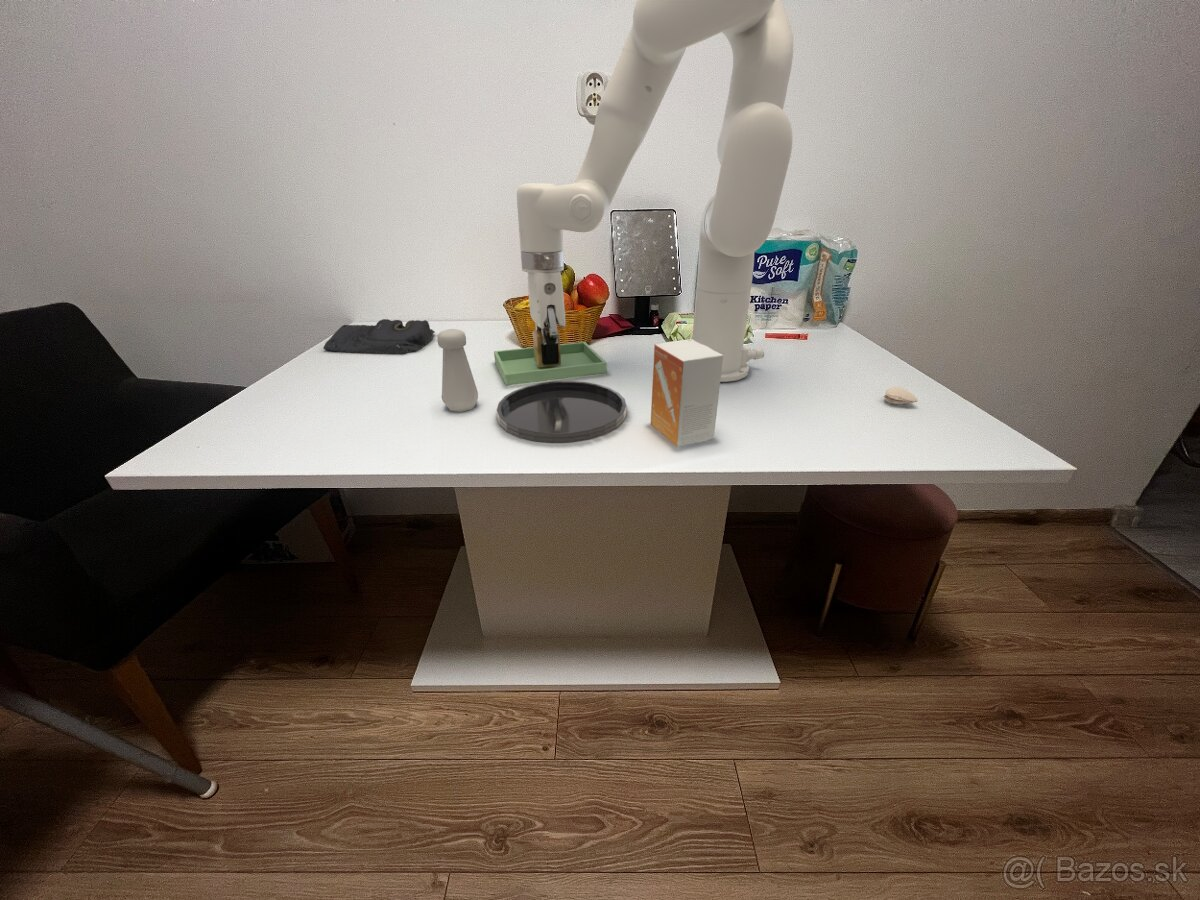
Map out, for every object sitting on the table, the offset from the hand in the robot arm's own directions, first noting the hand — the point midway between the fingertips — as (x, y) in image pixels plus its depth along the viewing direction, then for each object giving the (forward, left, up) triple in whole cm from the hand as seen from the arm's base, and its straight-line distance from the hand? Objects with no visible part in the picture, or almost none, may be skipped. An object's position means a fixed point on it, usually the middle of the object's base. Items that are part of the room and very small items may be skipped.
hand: (547, 358), depth 100 cm
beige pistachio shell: (-51, +36, -2) cm, 63 cm away
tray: (0, 0, -2) cm, 2 cm away
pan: (+3, +22, -2) cm, 22 cm away
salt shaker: (+18, +14, -2) cm, 23 cm away
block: (0, 0, -1) cm, 1 cm away
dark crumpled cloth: (+32, -30, -2) cm, 44 cm away
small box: (-12, +34, -2) cm, 36 cm away
